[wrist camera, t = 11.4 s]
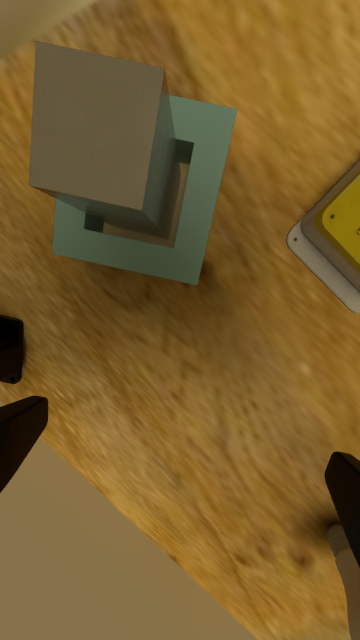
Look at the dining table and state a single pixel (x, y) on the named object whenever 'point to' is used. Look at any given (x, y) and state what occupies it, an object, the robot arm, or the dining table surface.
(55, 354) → the dining table surface
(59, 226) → the socket block
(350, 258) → the emergency button
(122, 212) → the grey rectangular block
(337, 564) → the lightbulb
